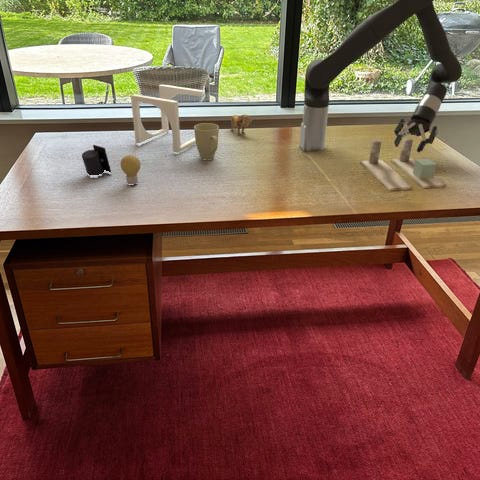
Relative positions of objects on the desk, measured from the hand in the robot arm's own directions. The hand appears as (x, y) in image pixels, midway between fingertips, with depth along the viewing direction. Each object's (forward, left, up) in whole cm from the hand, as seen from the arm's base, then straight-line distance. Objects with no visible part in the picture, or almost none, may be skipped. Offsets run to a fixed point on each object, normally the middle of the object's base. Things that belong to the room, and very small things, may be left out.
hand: (406, 148), depth 177 cm
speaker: (-110, +7, -6) cm, 111 cm away
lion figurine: (-54, +45, -6) cm, 71 cm away
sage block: (0, -14, -4) cm, 15 cm away
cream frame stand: (-83, +37, -7) cm, 91 cm away
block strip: (0, -10, -5) cm, 12 cm away
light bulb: (-98, -2, -6) cm, 99 cm away
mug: (-70, +17, -6) cm, 73 cm away
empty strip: (-12, -10, -5) cm, 17 cm away
